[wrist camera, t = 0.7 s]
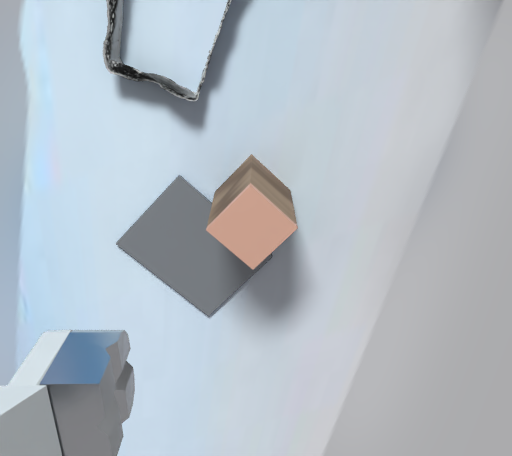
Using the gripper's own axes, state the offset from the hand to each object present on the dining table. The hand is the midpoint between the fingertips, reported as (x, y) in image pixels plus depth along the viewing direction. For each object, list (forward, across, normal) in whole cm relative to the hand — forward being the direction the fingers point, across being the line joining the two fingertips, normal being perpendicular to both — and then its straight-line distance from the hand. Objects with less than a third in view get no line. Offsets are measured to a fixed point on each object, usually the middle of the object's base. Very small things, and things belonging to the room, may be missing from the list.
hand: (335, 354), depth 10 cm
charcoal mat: (+36, +8, +15) cm, 39 cm away
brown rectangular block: (+36, +2, +9) cm, 37 cm away
